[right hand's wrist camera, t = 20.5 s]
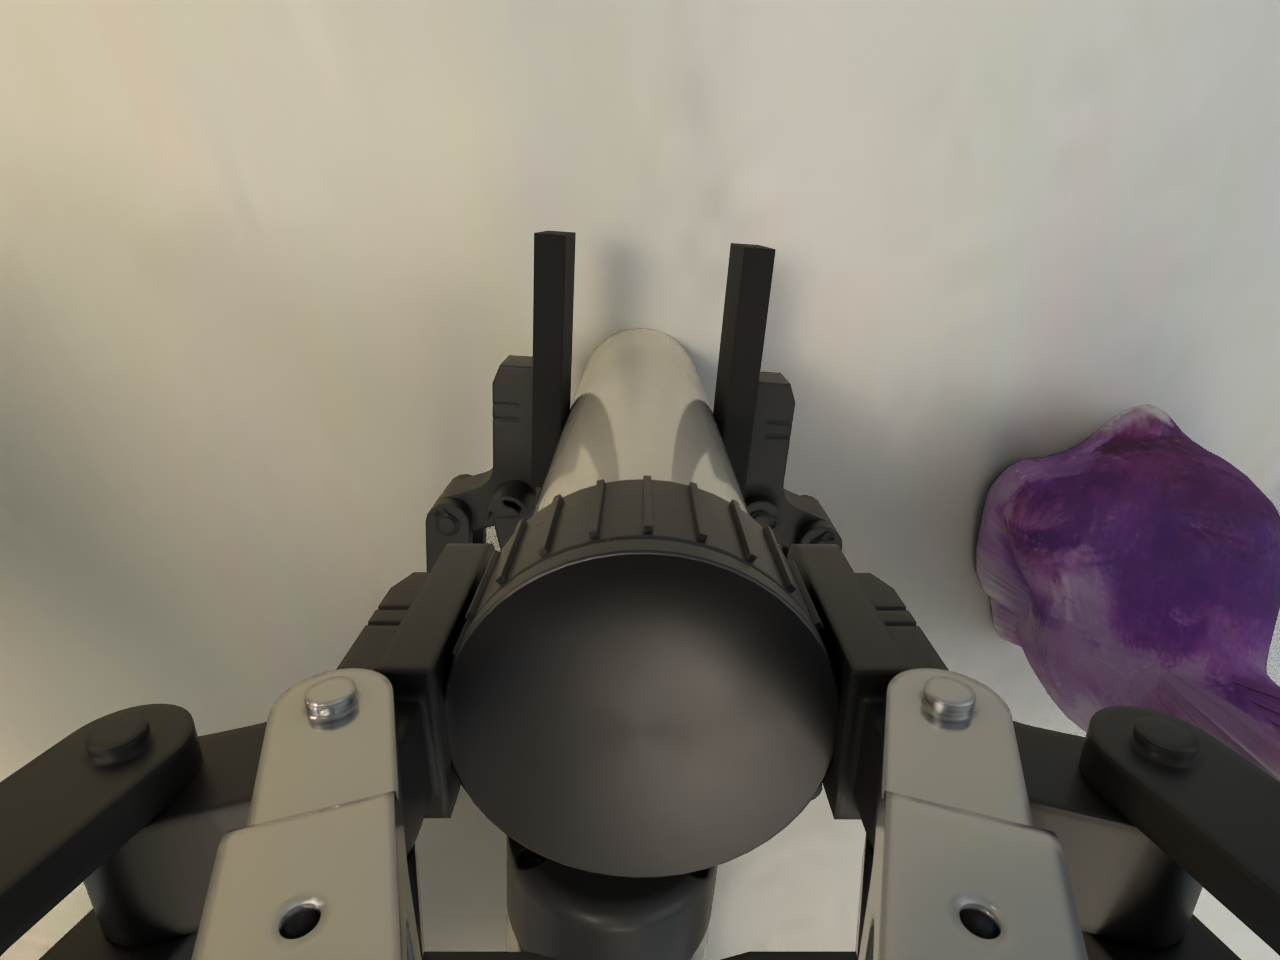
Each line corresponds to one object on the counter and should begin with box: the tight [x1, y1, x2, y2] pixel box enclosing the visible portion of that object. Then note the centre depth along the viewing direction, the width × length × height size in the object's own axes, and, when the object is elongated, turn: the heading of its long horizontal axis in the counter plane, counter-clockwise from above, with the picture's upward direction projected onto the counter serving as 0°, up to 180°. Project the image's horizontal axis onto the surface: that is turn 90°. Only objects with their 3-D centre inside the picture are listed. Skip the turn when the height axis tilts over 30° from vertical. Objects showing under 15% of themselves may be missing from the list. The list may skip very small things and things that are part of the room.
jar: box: [532, 329, 750, 516], centre depth 18 cm, size 4×4×18 cm
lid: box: [444, 475, 840, 878], centre depth 10 cm, size 5×5×2 cm
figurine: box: [975, 405, 1280, 782], centre depth 21 cm, size 9×10×15 cm
